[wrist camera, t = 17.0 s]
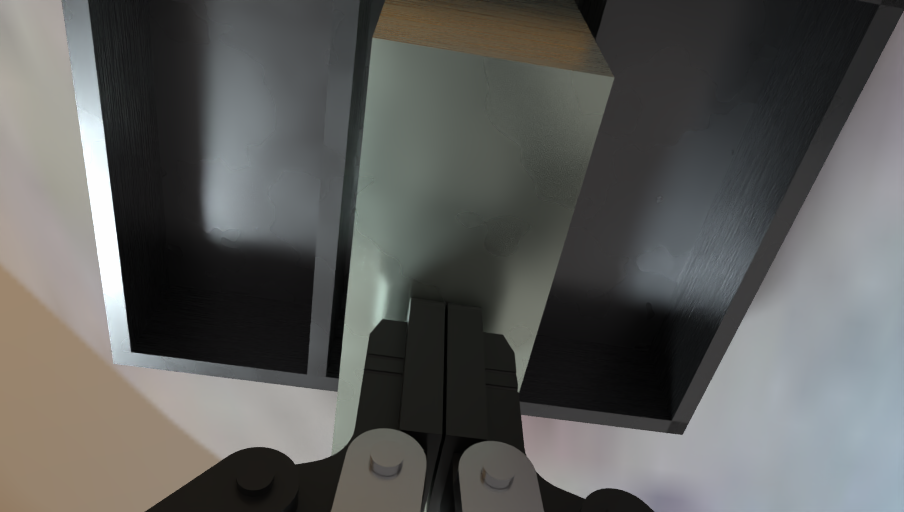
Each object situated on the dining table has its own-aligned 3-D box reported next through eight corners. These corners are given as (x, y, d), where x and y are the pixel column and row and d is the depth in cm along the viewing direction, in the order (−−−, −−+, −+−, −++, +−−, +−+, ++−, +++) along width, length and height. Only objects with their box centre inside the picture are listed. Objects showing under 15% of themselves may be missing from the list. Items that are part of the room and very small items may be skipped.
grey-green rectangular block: (553, -39, 19) (614, 77, 11) (474, 304, 26) (480, 518, 18) (407, -65, 19) (372, 38, 11) (365, 289, 25) (326, 502, 18)
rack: (840, -66, 19) (930, -30, 15) (654, 352, 28) (683, 439, 24) (117, -206, 17) (26, -204, 14) (159, 285, 26) (110, 367, 22)
